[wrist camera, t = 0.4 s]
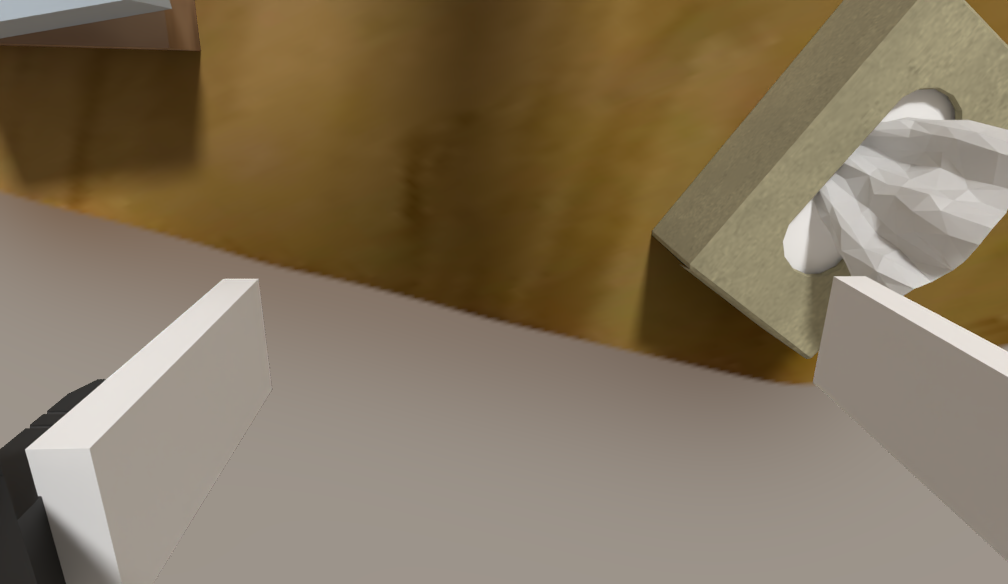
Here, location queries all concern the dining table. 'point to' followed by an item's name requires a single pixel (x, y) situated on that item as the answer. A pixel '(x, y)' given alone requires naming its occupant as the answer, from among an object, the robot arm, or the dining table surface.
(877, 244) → the tissue box
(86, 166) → the dining table surface
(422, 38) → the dining table surface
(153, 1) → the top block
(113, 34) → the base block
